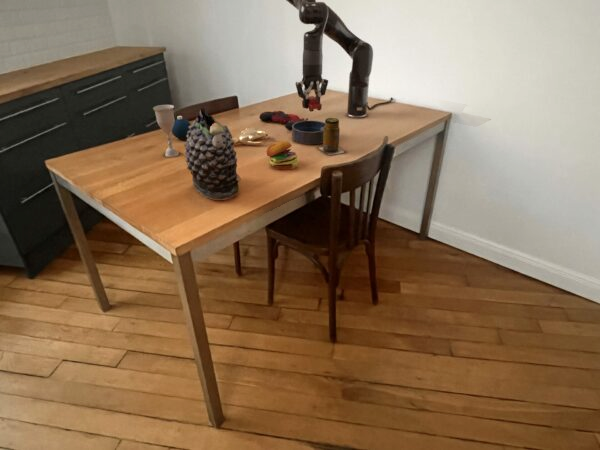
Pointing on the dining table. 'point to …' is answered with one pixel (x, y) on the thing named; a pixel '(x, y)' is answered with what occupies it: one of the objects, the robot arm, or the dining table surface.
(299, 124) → the bowl
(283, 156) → the cheeseburger
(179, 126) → the christmas ornament
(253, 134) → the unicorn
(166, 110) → the chalice
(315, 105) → the toy car
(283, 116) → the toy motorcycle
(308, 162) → the dining table surface
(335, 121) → the condiment
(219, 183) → the pinecone ceramic vase
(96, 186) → the dining table surface
